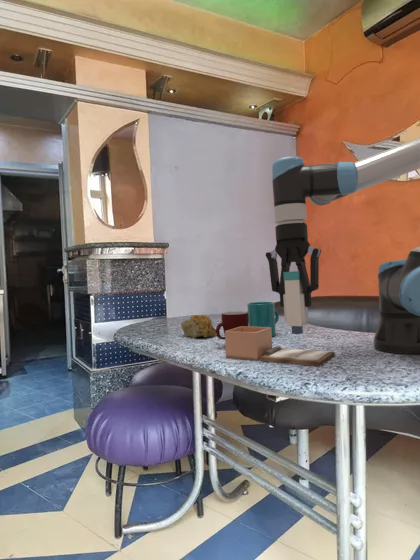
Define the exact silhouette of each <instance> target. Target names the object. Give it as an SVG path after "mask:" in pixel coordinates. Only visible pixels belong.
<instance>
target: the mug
mask: <svg viewBox="0 0 420 560" xmlns="http://www.w3.org/2000/svg"><path fill="white" fill-rule="evenodd" d="M248 323H249V316H248V311H243V310H241V311H240V310H239V311H226V312H222V313H221V322H220V323H218V324H217V326H216V328H215V330H216V335H215V336H216V337H218V339H220V340H224V341H225V331H227V330H230V329H234V328H237V327H240V326H248ZM221 328H223V334H224V336H221V333H220V330H221Z"/></svg>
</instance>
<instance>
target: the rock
mask: <svg viewBox="0 0 420 560" xmlns="http://www.w3.org/2000/svg"><path fill="white" fill-rule="evenodd" d="M189 317H190V318H188V319H184V321H183V322H182V321H181V323H180V326H181V329H182V331H183V334H184V336H185V335H186V336H185V337H187V336H188V337H189V336H190V338H192V337H194V338H193V339H196V338H198V337H203V338H208V337H209V338H210V337H211V338H212V337H213V336H214V337H215V336H217V335H216V328H215V327H214V326H213V324H212V318H211V317H209V316H207V315H205V314H201V315H200V314H192V315H190V316H189ZM214 337H213V338H214Z"/></svg>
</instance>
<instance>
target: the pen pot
mask: <svg viewBox="0 0 420 560" xmlns="http://www.w3.org/2000/svg"><path fill="white" fill-rule="evenodd" d="M224 337H225V340H224V344H225V345H224V346H225V358H226V359H235V360H236V359H238V360H248V359H249V360H248V361H260V360H259V359H260V357H261V356H264V355H266V351H267V350H269V349H272V348H273V337H272V330H271V327H250V326H240V327H237V328H234V329H230V330H227V331H225V335H224Z"/></svg>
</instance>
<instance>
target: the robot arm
mask: <svg viewBox="0 0 420 560" xmlns="http://www.w3.org/2000/svg"><path fill="white" fill-rule="evenodd" d="M271 169H272V170H271V171H272V173H271V175H272V176H271V177H272V179H271V181H272V193H273V204H274V205H273V207H274V223H275V224H277V225H275V241H276V244H275V247H274V249H273V250H271V251H270V252H266V253H265V257H266V259H267V261H268V268H269V276H270V277H269V278H270V283H271V286H270V287H271V291H272V292H274V293H275V292H276V293H278V295H279V303H280V308H283V312H284V313H283V314H284V322H287V315H286V298H285V282H284V274H283V272H290V271H291V269H290V268H291V265H292V263H295V265H296V267H297V271H300V280H301V285H302V289H303V292H302V293H303V294H300V297H301V314H302V321H306V322H307V321H309V307H312V293H313V292H314V291H317V290H318V289H320V288H319V271H320V270H319V268H320V266H319V258H320V256H321V252H322V249H321V248H318V247H314V246H311V244H310V243H309V240H308V239H309V235H308V224H307V223H305V222H306V221H307V219H308V218H307V204H306V199H307V198H308V199H309V201H310V202H312V203H313V204H314V205H316V206H326V205H330V204H331V202H334V201H336V200H339V199H343V198H344V197H346V196H348V195H352V194H354V193H357V192H360V191H363V190H366V189H367V188H370V187H373V186H376V185H379V184H382V183H384V182H387V181H389V180H392V179H396V178H398V177H400V176H404V175H405V174H408V173H411V172H414V171H416V170H420V137H418V138H415V139H413V140H409V141H407V142H405V143H402V144H399V145H396V146H393V147H392V148H389V149H386V150H383V151H381V152H380V151H379V152H378V153H375V154H373V155H371V156H368V157H365V158H362V159H360V160H357V161H354V162H352V161H338V162H331V163H321V164H312V165H310V164H309V165H308V164H307V165H306V164H305V162H304V159H303V158H302V157H300V156H292V155H291V156H284V157H281V158H278V159H276V160H275V161H274V162H273V163H272V165H271ZM307 254H309V257H310V260H309V261H310V262H309V267H310V271H309V274H308V270H307V265H306V264H307V263H306V256H307ZM278 257H279V258H280V259H281V260H280V261H281V263H280V266H281V269H280V274H279V268H278V266H279V265H278V260H277V258H278ZM377 271H378V272H377V273H378V274H377V279H378V280H377V281H378V302H379V321H378V325H377V328H376V331H375V334H374V338H373V348H374V349H375V350H377V351H378V350H379V351H382V352H387V353H394V354H410V355H412V354H415V355H416V354H417V355H418V354H420V246H417V247H415V248H413V249H411V250H410V252H409V253H408V255H407V257H406V259H398V260H392V261H391V260H389V261H386V262H383V263H380V264H379V266H378V270H377ZM279 275H280V277H279ZM309 275H310V279H309Z"/></svg>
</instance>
